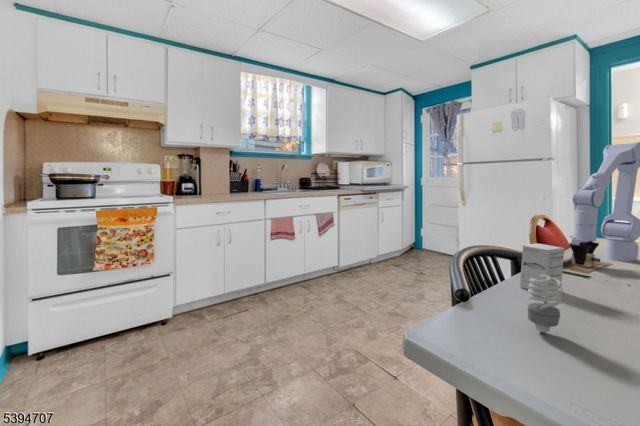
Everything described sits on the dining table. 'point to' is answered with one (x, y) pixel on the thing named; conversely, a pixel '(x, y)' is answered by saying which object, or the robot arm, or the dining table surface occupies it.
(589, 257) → the marking gauge
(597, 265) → the board
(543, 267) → the supplement box
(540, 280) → the light bulb
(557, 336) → the dining table surface
